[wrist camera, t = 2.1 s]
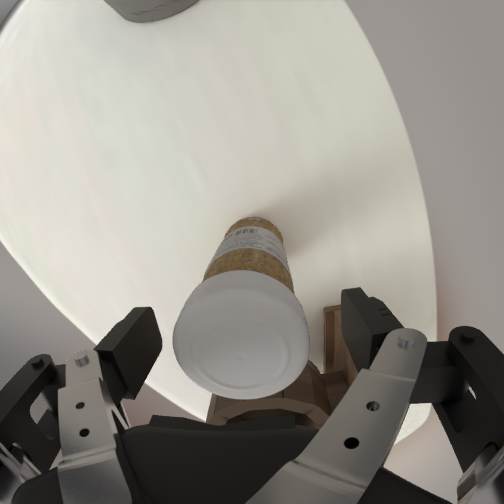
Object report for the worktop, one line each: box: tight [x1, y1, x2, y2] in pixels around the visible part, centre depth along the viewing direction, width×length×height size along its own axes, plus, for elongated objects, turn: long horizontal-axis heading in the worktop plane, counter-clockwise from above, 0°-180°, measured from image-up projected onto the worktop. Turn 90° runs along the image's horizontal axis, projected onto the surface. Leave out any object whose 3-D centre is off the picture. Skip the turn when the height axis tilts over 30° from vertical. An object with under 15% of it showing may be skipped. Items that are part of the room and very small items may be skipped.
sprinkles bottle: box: [173, 217, 310, 399], centre depth 15 cm, size 5×5×13 cm
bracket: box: [206, 305, 358, 430], centre depth 18 cm, size 10×12×12 cm
